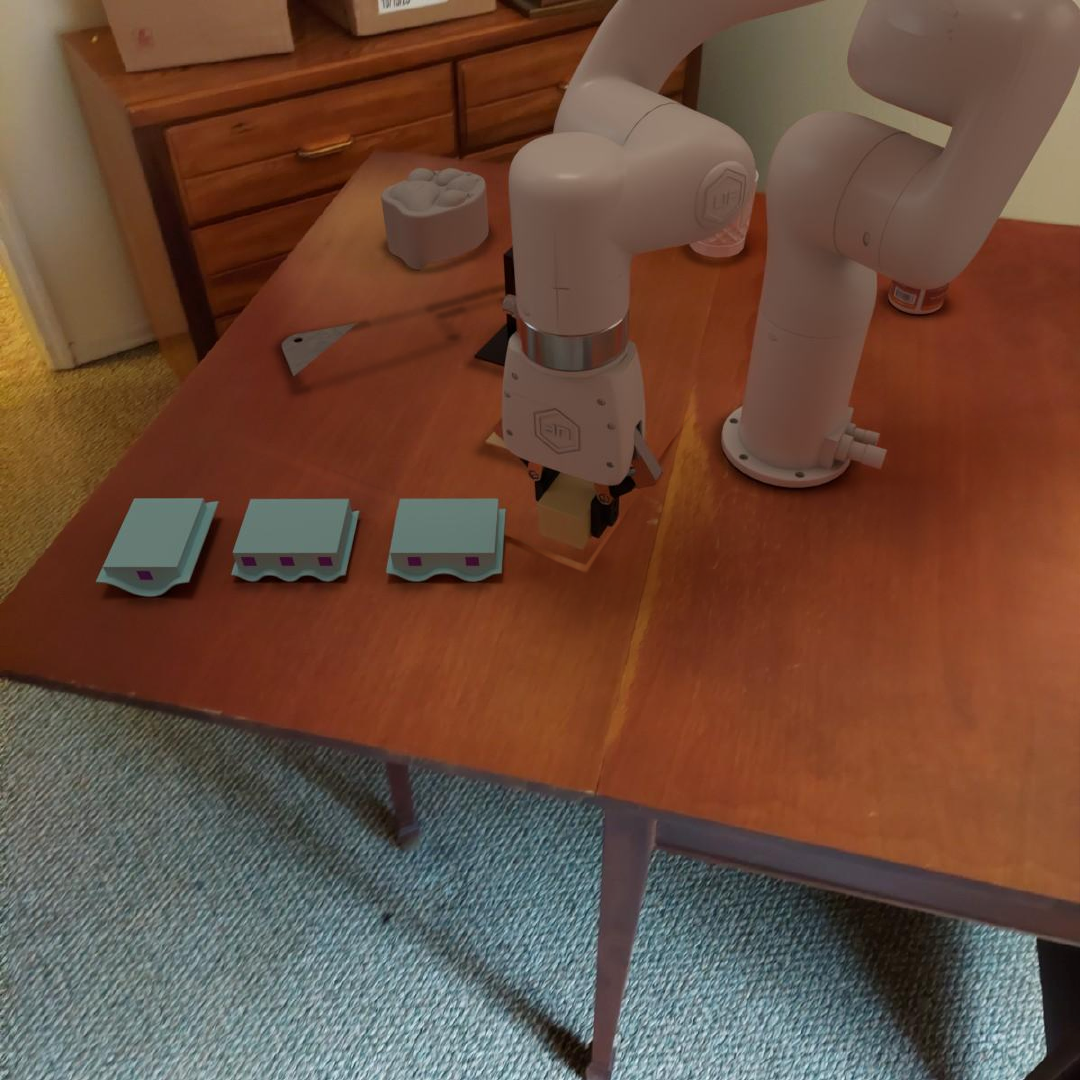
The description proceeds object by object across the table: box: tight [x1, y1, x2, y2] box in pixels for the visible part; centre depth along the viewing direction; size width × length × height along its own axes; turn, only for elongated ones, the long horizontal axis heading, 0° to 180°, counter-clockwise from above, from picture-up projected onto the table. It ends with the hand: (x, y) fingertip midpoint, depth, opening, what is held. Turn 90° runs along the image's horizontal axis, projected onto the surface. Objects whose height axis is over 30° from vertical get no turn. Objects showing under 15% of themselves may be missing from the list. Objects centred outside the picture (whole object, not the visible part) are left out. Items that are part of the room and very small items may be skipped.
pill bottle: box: [887, 279, 951, 315], centre depth 108 cm, size 6×6×11 cm
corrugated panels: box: [95, 497, 507, 598], centre depth 84 cm, size 34×3×10 cm
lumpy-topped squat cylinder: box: [380, 167, 490, 271], centre depth 120 cm, size 10×13×9 cm
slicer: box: [474, 245, 517, 368], centre depth 102 cm, size 12×9×12 cm
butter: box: [536, 472, 596, 551], centre depth 77 cm, size 6×4×4 cm, turn 152°
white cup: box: [689, 169, 760, 259], centre depth 117 cm, size 8×8×10 cm
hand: (577, 515), depth 78 cm, fingers closed on butter, 4 cm apart
